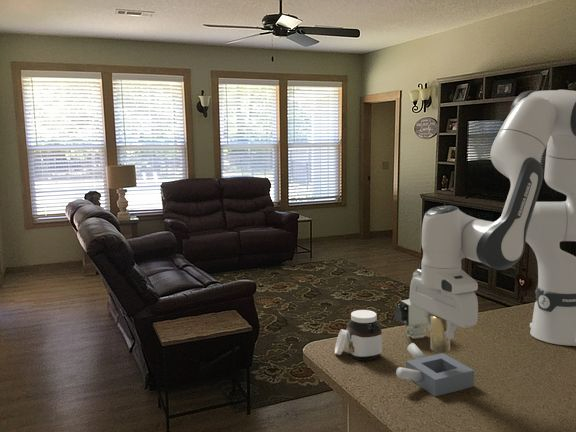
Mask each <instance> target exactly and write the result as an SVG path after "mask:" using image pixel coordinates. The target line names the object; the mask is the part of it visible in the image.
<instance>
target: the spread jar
mask: <svg viewBox="0 0 576 432" xmlns="http://www.w3.org/2000/svg"><path fill="white" fill-rule="evenodd" d="M377 315H378V314H377V313H376V312H375V311H373V310H369V309H358V310H354V311H351V313H350V320H349V321H348V322H347V325H346V329H342V328H341V329H340V331H339V332H338V336H337V338H336V341H335V346H334V354H335V355H338V356H341V355H342V354H343V351H344V348H345V345H346V347H347V350H348V352H349V353H348V354H349V355H350V356H351V357H352V358H353V359H355V360H359V361H372V360H374V359H377V358H378V357H379V356H380V355H381V354H382V352H383V332H382V328H381V326H380V324H379V322H378V321H377V319H378V317H377Z"/></svg>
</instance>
